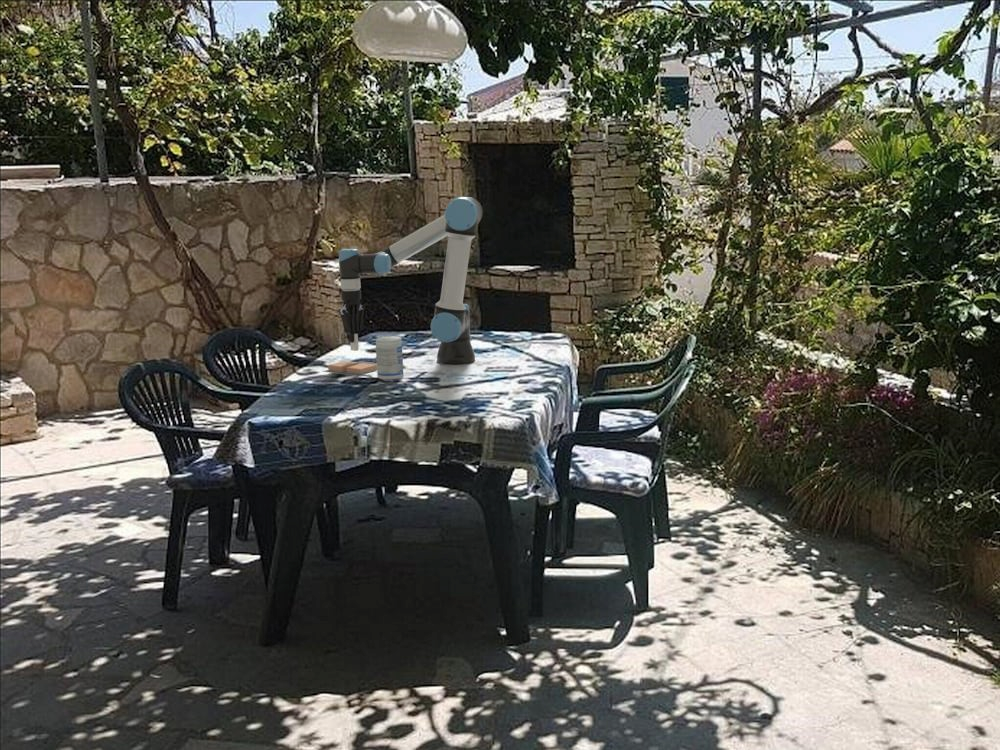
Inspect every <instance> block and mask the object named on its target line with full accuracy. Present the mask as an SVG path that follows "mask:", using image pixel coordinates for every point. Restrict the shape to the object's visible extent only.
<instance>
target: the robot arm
mask: <svg viewBox="0 0 1000 750" xmlns="http://www.w3.org/2000/svg"><path fill="white" fill-rule="evenodd" d="M482 217H483V208H482V205H481V203H480V202H479V201H478V200H477V199H476V198H474V197H471V196H458V197H455V198H454V199H452V200H451V201H450V202H449V203H448V204H447V206H446V207H445V211H444V214H443V215H441V216H440V217H438V218H436V219H434V220H433V221H431V222H429V223H427V224H425V225H424V226H422V227H420V228H419V229H417V230H415V231H414V232H412V233H410V234H408V235H407V236H405V237H403V238H402V239H400V240H398V241H396V242H395V243H392V244H391V245H390V246H387V247H385V248H384V249H383V250H380V251H379V252H375V253H360V251H359V249H357V248H343V249H340V250H339V251H338V266H339V278H340V289H341V292H340V297H341V301H343V304H342V308H341V309H338V313H339V315H340V317H341V322H342V326H343V331H344V333H345V334H347V335H348V338H349V345H350V351H354V352H358V351H359V350H360V349H359V339H360V338H359V334H361V331H363V326H364V325H363V323H364V312H365V309H366V305H362V303H361V301H360V300H362V290H361V288H362V286H361V275H365V274H367V275H368V274H369V275H375V274H376V275H377V274H378V275H383V274H384V275H385V274H389V273H390V272H391V270H392V268H394V267H395V266H397V265H399V264H400V263H403V262H404V261H405V260H407V259H409V258H410V257H413V256H415V255H416V254H418V253H419V252H421V251H423V250H425V249H426V248H428V247H430V246H432V245H434V244H435V243H437V242H439V241H441V240H443V239H444V238H446V237H447V243H446V244H447V246H446V252H445V253H446V254H445V261H444V269H443V276H442V284H441V291H440V299H439V300H438V301H437V302H436V303H435V306H434V307H435V308H434V314H433V318H432V319H431V322H430V331H431V334H432V335H433V337H434V338H435V339H436V340H438V341H439V342H440V344H439V346H438V347H439V348H438V352H437V355H436V361H437V363H439V364H446V365H463V364H470V363H473V362H475V360H476V355H475V352H474V349H473V346H472V344H471V325H470V323H471V322H470V320H471V319H470V318H471V317H470V313H471V311H470V306H469V304H468V303H464V297H465V289H466V283H467V275H468V268H469V267H468V266H469V259H470V254H471V253H470V252H471V251H470V250H471V247H472V246H471V244H472V240H473V239H475V238H476V237H477V230H478V225H479V223H480V222H481V220H482Z"/></svg>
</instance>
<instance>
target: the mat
mask: <svg viewBox="0 0 1000 750" xmlns="http://www.w3.org/2000/svg"><path fill="white" fill-rule="evenodd" d="M357 362H358V364H361V363H366V364H374V365H377V362H371V361H357ZM376 371H377V370H375V371H371V372H368V373H372V372H376ZM322 372H323V373H324V372H325V373H329V374H331V373H332V374H338V375H345V376H351V377H352V376H354V377H358V376H361V375H362V376H363V375H366V374H368V373H364V374H355V373H347V371H343V372H340V371H332V370H329V369H327V370H323V371H322Z"/></svg>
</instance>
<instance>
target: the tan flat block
mask: <svg viewBox="0 0 1000 750" xmlns="http://www.w3.org/2000/svg"><path fill="white" fill-rule="evenodd" d="M358 362H359V361H356V362H355V361H349V360H342V361H337V362H334V363H331V364H328V365H327V367H328V369H327V370H332V371H340V372H343V371H347V367H350V366H354V365H357V364H358Z"/></svg>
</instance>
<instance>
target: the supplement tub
mask: <svg viewBox="0 0 1000 750" xmlns="http://www.w3.org/2000/svg"><path fill="white" fill-rule="evenodd" d="M375 354H376V355H375V356H376V359H375V360H376V363H377V370H376V371H377V373H376V374H377V378H378V379H380V380H399V379H402V378H403V377H404V360H403V359H404V358H403V357H404V356H403V341H402V337H400V336H380V337H377V338H375Z"/></svg>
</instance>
